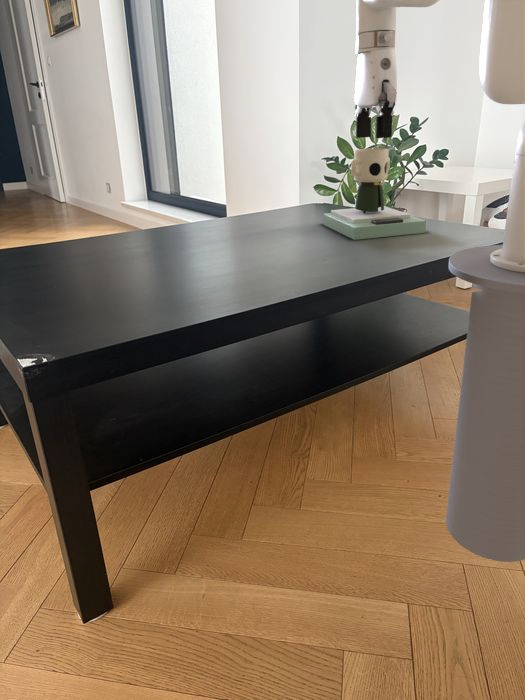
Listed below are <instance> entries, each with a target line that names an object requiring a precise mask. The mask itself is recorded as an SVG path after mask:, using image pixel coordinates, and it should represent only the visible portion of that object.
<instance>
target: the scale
mask: <svg viewBox="0 0 525 700" xmlns="http://www.w3.org/2000/svg"><path fill="white" fill-rule="evenodd" d="M322 224H323V226H325V227H327V228H329V229H330V230H333V231H335V232H337V233H339V234H341V235H344V236H345V237H348V238H350V239H352V240H354V241H357V240H367V239H376V238H387V237H398V236H408V235H415V234H416V235H417V234H426V229H427V220H426V219H422V218H419V217H416V216H413V215H411V214H410V213H407V212H404V211H401V210H398V209H394V208H392V207H388V206H386V205H384V210H382V211H381V207H379V208H378V211H377V212H366V213H363V211H360V210H357V209H355V207H353V208H342V209H341V208H340V209H331V210H330V212H327V213H323V214H322Z"/></svg>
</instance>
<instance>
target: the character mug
mask: <svg viewBox="0 0 525 700" xmlns="http://www.w3.org/2000/svg"><path fill="white" fill-rule="evenodd" d="M389 153H390V152H389V149H388V148H379V147H378V148H375V147H374V148H359V149H354V152H353V154H354V155H353V160H352V161H351V164H350V165H351V166H350V168H351V169H350V174H351V177H353V180H354V181H355V182H359V183H360V184H359V185H358V187H357V190H356V191H357V192H356V198H355V206H354V208H355V209H357V210H360V211H363V213H366V212H377V211H378V208H379V207H381V211H382V210H384V206H385V199H384V188H383V185H382V182H384V181H386V180H387V178H388V177H389V172H390V169H391V168H390V167H391V158H390V157H389V156H390V155H389Z"/></svg>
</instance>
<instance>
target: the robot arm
mask: <svg viewBox="0 0 525 700" xmlns="http://www.w3.org/2000/svg"><path fill="white" fill-rule="evenodd" d="M439 1H440V0H356V22H355V23H356V26H355V29H356V33H355V35H356V36H355V39H356V40H355V55H357V64H356V77H355V94H354V109H355V118H356V119H355V137H356V138H357V139H361V138H363V139H364V138H370V137H371V136H372V116H371V112H372V109H373V107H375V109H376V112H377V115H378V116H376V117H375V118H376V119H375V138H376V139H388V138H391V137H392V135H393V134H392V133H393V116H394V113H395V111H394V108H395V107H396V102H397V98H398V97H397V96H398V95H397V93H398V89H397V87H398V86H397V85H398V80H397V79H398V78H397V77H398V75H397V58H396V57H397V56H396V32H397V31H396V29H397V28H396V25H397V8H428V7H431V6H433V5H435V4H437V3H438V2H439ZM482 19H483V20H482V29H481V30H482V31H481V40H480V41H481V42H480V50H479V51H480V53H479V80H480V84H481V88H482V90H483V92H484V94H485V95H486V96H487V98H489V100H491V101H492V102H495V103H496V104H497V103H498V104H501V105H525V0H484V9H483V18H482ZM513 158H514V159H513V166H512V173H511V180H510V181H511V182H510V188H509V196H508V203H507V210H506V219H505V227H504V233H503V240H502V245H503V247H502V249H499V250H496V251H494V252H492V253H491V255H490V262H491V263H492V264H493V265H495V266H497V267H499V268H502V269H505V270H510V271H515V272H521V273H525V119H524V120H523V123H522V125H521V126H520V130H519V132H518V136H517V140H516V145H515V153H514V157H513Z"/></svg>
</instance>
